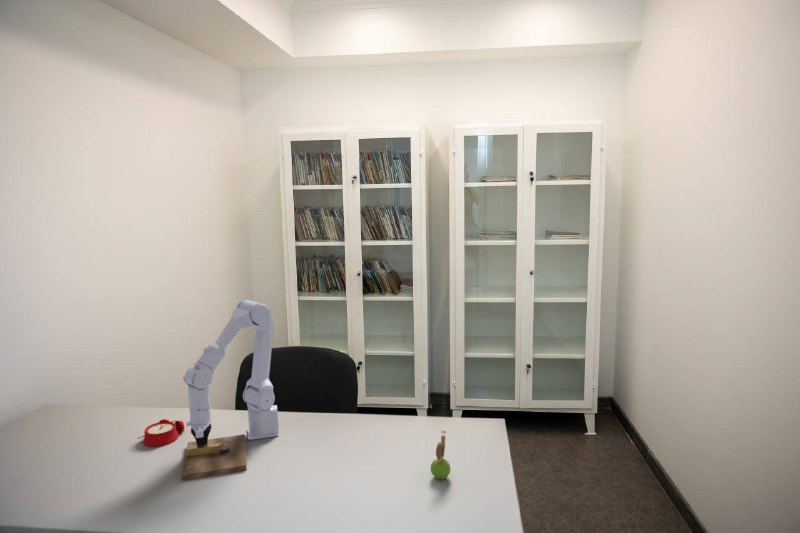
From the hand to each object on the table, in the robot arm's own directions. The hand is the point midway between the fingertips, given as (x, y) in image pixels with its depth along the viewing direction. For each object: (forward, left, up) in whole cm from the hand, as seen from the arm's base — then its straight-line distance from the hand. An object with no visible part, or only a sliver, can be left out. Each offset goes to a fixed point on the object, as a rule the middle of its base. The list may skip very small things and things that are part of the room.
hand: (202, 449), depth 159 cm
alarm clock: (+13, -18, -3) cm, 22 cm away
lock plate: (-4, +2, -2) cm, 5 cm away
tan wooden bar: (-2, +2, 0) cm, 2 cm away
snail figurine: (-63, +33, -2) cm, 71 cm away
